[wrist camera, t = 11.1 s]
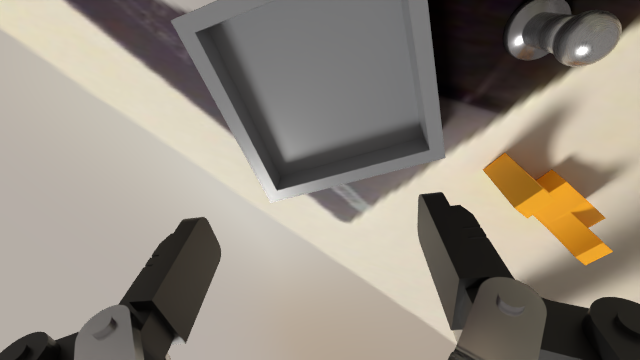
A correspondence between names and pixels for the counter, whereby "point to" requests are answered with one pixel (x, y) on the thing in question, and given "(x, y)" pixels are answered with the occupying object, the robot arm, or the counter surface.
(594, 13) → the door knob
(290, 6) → the parts bin
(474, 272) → the robot arm
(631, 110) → the counter surface
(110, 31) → the counter surface
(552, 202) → the pipe clamp
